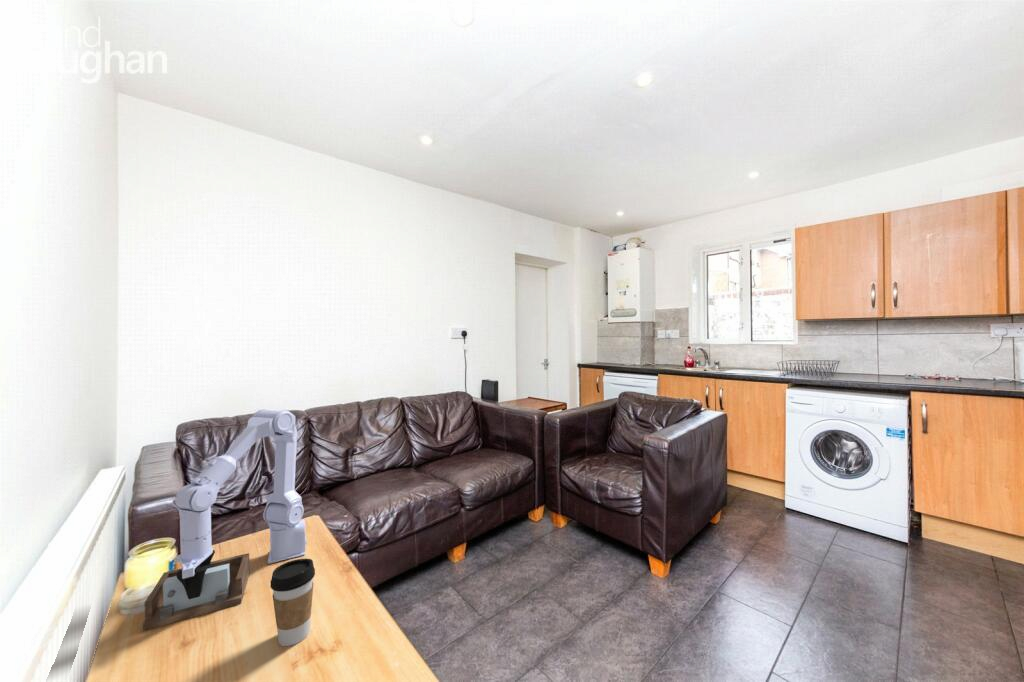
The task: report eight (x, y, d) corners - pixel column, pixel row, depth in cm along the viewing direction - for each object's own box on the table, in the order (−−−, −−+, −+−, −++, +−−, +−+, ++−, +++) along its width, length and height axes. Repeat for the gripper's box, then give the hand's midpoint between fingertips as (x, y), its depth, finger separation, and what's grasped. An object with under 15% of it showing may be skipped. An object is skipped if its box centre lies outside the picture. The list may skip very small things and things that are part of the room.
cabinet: (249, 572, 105) (249, 553, 105) (241, 603, 93) (240, 581, 93) (164, 594, 97) (164, 572, 97) (142, 631, 84) (142, 606, 84)
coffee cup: (302, 651, 78) (301, 578, 78) (262, 651, 78) (260, 579, 78) (323, 620, 86) (322, 555, 86) (287, 621, 87) (285, 555, 87)
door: (229, 591, 95) (229, 563, 95) (227, 598, 92) (226, 570, 92) (167, 607, 89) (166, 578, 89) (162, 616, 87) (161, 585, 87)
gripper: (183, 526, 96) (184, 579, 96) (163, 554, 83) (165, 616, 83) (218, 519, 99) (219, 571, 99) (204, 545, 86) (205, 605, 86)
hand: (197, 591), depth 91 cm, fingers open, 4 cm apart
